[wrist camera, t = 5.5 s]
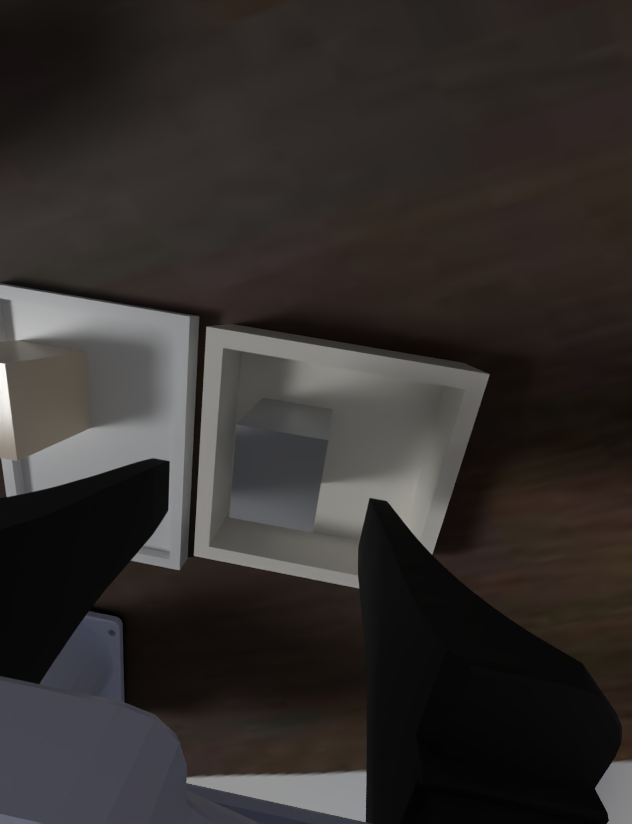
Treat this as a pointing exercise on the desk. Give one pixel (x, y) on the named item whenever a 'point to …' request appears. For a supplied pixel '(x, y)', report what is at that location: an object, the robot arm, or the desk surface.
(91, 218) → the desk surface
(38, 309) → the parts tray
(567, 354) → the desk surface
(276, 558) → the dish
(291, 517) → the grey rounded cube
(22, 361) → the taupe rectangular block
